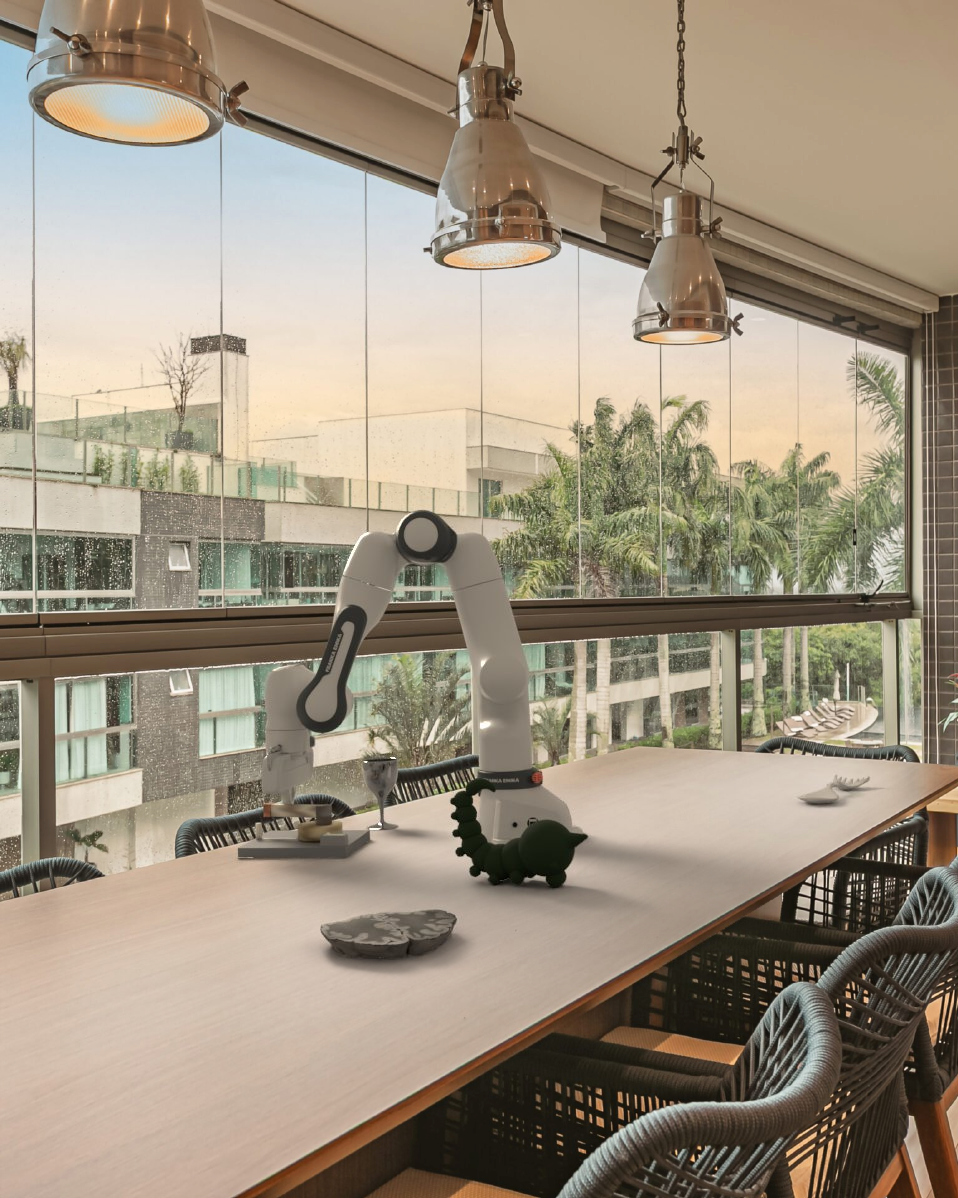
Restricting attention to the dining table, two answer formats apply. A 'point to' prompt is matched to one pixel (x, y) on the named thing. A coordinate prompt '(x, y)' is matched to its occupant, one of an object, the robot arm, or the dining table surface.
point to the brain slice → (390, 933)
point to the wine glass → (380, 783)
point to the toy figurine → (513, 845)
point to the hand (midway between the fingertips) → (288, 809)
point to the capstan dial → (311, 828)
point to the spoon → (827, 793)
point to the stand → (303, 844)
